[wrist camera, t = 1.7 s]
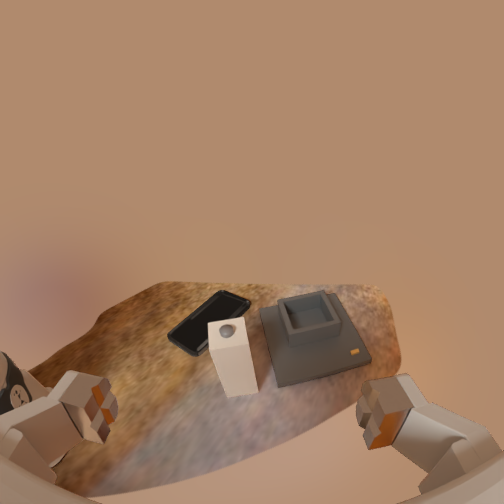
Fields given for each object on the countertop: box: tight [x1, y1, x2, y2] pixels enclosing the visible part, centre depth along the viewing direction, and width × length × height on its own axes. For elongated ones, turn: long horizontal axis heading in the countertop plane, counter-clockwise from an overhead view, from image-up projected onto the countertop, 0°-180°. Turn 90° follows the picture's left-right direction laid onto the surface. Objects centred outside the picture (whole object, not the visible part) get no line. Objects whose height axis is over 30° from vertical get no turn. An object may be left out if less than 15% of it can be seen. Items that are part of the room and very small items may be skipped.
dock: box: [259, 290, 372, 388], centre depth 42 cm, size 14×16×4 cm
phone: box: [167, 290, 250, 357], centre depth 49 cm, size 8×1×15 cm
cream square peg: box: [208, 317, 259, 398], centre depth 34 cm, size 4×4×12 cm
